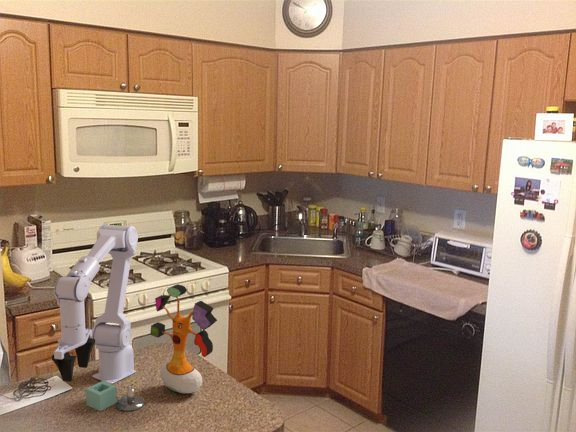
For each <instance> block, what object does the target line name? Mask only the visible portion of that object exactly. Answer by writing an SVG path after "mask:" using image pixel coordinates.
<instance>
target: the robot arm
mask: <svg viewBox="0 0 576 432" xmlns="http://www.w3.org/2000/svg"><path fill="white" fill-rule="evenodd" d="M138 239H139V234H138V232H137V228H135V226H133V225H115V224H114V225H113V224H106V223H103V224H101V226H99V228H98V230H97V232H96V241H95V242H94V245H93V246H92V247H91V249H90V251H89V253H87V255H84V256H81V257H80V258H78V260H77V262H76V263H75V264H74V266H72V268H71V269H70V270H69V272H68V273H67V274H66V275H64V276H61V277H59V278H58V279H57V280H56V282H55V283H54V290H53V296H54V298H55V300H56V305H57V306H58V307H59V315H60V317H59V318H60V332H61V333H60V334H61V337H59V338H58V339H57V343H59V344H58V345H57V348H56V349H55V350H54V351H53V354H52V355H51V361H53V363H54V364H55V366H56V367H57V369H58V371H59V373H60V376H61V379H62V381H63V382H69V383H70V382H72V381H73V377H74V376H73V375H74V365H75V362H76V360H77V365H78V368H84V369H87V368H88V367H89V363H90V362H89V361H90V357H91V352H92V350H93V348H94V345H95V349H96V350H98V372H97V373H95V374H93V375H92V378H94V379H96V380H99V381H100V382H101V381H104V382H107V383H109V384H112V385H114V384H115V383H117V382H119V381H121V380H123V379H126V378H127V377H129V376H131V375H133V374H136V372H137V371H136V370H135V360H134V359H135V358H134V354H135V353H134V349H133V346H132V344H130V341H131V338H132V332H131V331H132V330H131V327H132V324H131V323H132V321H131V320H130V319H129V318H127V316H125V314H124V308H125V302H126V296H127V295H126V294H127V287H128V283H129V281H128V280H129V275H130V274H129V273H130V269H131V260H132V257H133V256H136V252H137V246H138V241H139V240H138ZM107 255H110V257H112V264H111V269H110V274H109V275H110V276H109V282H108V288H107V289H108V290H107V295H106V301H105V308H104V312H103V313H102V314H101V315H99V316H98V317H96V318H95V321H94V325H93V328H92V329H91V328H86V313H85V312H86V311H85V308H86V307H85V299H86V298H87V297H88V294H89V289H90V287H91V282H92V281H93V280H94V278H95V276H96V275H97V274H98V272H99V271H100V262H102V261H103V259H104V258H105V257H106V256H107ZM73 350H75V353H76V355H71V353H70V352H71V351H73Z"/></svg>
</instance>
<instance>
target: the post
mask: <svg viewBox="0 0 576 432" xmlns="http://www.w3.org/2000/svg"><path fill="white" fill-rule="evenodd" d="M145 403H146V402H145V398H143V397H142V396H139V395H135V387H134V386H129V387H127V388H126V396H124V397H122V398H120V399H119V400H117V403H116V408H117V409H118V410H120V411H121V412H127V413H128V412H135V411H139V410H141V409H142V408H143V407H144V406H145Z"/></svg>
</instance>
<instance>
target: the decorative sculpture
mask: <svg viewBox="0 0 576 432" xmlns="http://www.w3.org/2000/svg"><path fill="white" fill-rule="evenodd" d="M187 289H188V288H186V286H184V285H182V284H174V285H173V286H169V287H168V288H167V289H166V292H167V293H168V295H167V294H162V295H159V296H157V297H154V300H155V309H156V312H160V311H162V310H165V311H166V313H167V317H168V318H170V320H171V321H172V333H169V332H166V325H165V324H164V323H161V322H158V321H157V322H155V323H153V324H151V325H150V333H149V335H151V336H153V337H154V338H158V339H159V338H161V337H162V336H164V335H167V336H169V337H170V339H171V341H172V344H173V353H172V357H171V360H170V361H169V362H167V363H165V364H163V365H162V367H161V369H160V378H161V380H162V383H163V384H164V385H165V387H167V388H168V389H170V390H171V391H174V392H176V393H179V394H192V393H193V394H194V393H195V392H197V391H198V390H200V388H201V386H202V384H203V377H202V375H201V373H200V371H198V370H197V369H196V368H195V367H194V366H192V365H191V364H190V362H189V361H188V360H187V358H186V353H185V349H186V346H187V339H188V335H189V334H192V335H194V343H193V344H194V345H195V346H197V347H198V348H199V349H200V353H201V357H204V358H205V357H208V356H209V355H211V353H212V352H213V351H214V344H213V342H212V340H211V339H210V338H209V334H208V332H207V331H206V329H207V330H208V328H210V327H211V326H212V325H214V324H215V323H216V322H217V321H218V319H217V318H216V317H215V316H214V315H213V313H212V312H213V310H214V309H215V308H214V307H213V306H211V305H209V304H207V303H206V302H204V301H203V300H199V301H197V302H195V303H194V306H193V311H191V312H190V313H189V314H188V315H187V316H186V317H185V316H183V315H182V314H181V313H180V299H179V298H178V297H180V296H183V295H185V294H186V293H187ZM171 297H173V298H176V301H177V304H176V305H177V307H176V310H177V312H176V315H175V316H174V317H173V316H172V315H171V313H170V312H169V310H168V309H167V308H166V305H167V303H168V301H169V299H170V298H171ZM191 319H192V320H193V321H194V322H195V324H197V326H199V328H200V329H202V330H201V331H199V332H195V331H193V329H192V327H191V324H192V323H191V322H192V321H191Z"/></svg>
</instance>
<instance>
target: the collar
mask: <svg viewBox="0 0 576 432" xmlns="http://www.w3.org/2000/svg"><path fill="white" fill-rule="evenodd" d="M117 394H118V393H117V385H114V384H109V383H107V382H104V381H101V380H100V382H97V383H95V384H93V385H91V386H89V387H87V388H85V398H86V399H85V400H86V401H85V403H86V406H88V407H91V408H93V409H95V410H98V411H99V412H101V411H103V410H106V409H107V408H109V407H111V406H113V405H114V404H117V402H118V395H117Z"/></svg>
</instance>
